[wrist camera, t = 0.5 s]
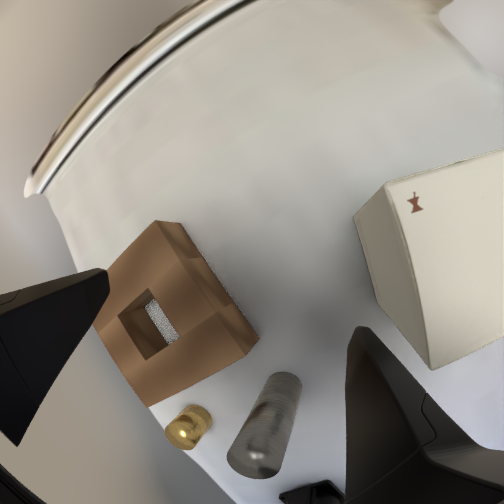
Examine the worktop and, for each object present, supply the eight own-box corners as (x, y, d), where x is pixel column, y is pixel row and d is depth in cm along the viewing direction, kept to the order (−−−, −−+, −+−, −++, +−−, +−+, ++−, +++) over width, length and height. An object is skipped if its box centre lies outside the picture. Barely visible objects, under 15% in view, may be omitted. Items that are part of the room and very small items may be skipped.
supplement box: (376, 306, 20) (423, 378, 8) (350, 214, 21) (378, 176, 8) (455, 278, 18) (554, 309, 6) (432, 189, 19) (520, 139, 6)
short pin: (218, 424, 24) (202, 446, 20) (196, 432, 25) (179, 452, 21) (198, 400, 25) (179, 420, 21) (178, 409, 25) (158, 428, 22)
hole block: (259, 338, 23) (245, 355, 19) (167, 390, 26) (146, 407, 22) (180, 223, 24) (154, 220, 21) (106, 294, 27) (80, 300, 23)
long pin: (309, 392, 22) (291, 471, 12) (279, 407, 22) (248, 483, 13) (288, 365, 22) (259, 437, 13) (258, 382, 23) (216, 451, 13)
